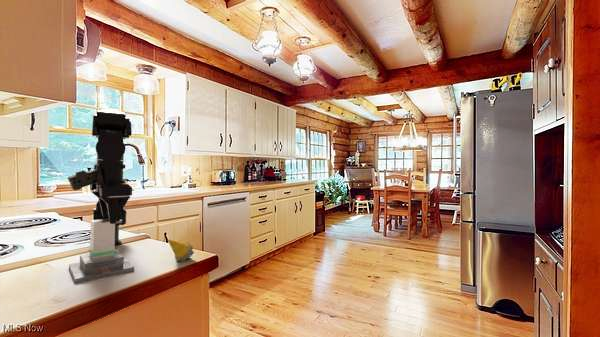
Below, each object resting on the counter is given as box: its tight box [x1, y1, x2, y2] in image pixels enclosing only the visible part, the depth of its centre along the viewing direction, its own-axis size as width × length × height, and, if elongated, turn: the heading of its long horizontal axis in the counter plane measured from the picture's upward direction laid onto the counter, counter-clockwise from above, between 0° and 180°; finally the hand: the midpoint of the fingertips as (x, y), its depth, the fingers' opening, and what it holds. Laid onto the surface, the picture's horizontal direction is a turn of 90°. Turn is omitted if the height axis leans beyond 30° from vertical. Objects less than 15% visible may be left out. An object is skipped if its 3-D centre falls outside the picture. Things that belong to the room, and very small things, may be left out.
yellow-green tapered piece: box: [167, 239, 195, 262], centre depth 82 cm, size 5×5×10 cm
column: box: [89, 219, 116, 260], centre depth 74 cm, size 5×5×9 cm
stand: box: [68, 248, 135, 284], centre depth 74 cm, size 12×12×4 cm
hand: (109, 220), depth 74 cm, fingers open, 9 cm apart
